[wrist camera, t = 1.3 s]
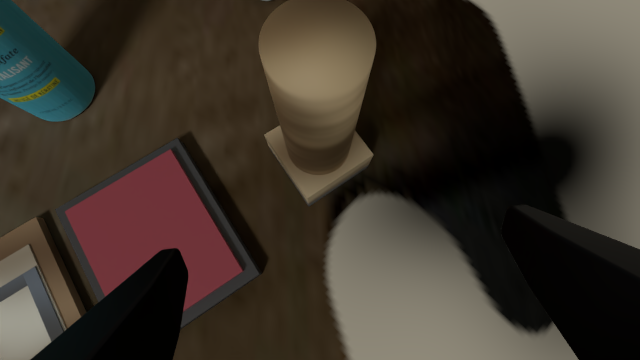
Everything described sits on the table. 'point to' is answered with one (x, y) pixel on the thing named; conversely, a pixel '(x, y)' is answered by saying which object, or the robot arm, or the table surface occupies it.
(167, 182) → the ink pad
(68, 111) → the tube
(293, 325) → the table surface
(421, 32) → the table surface
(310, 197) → the stamp
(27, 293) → the wooden picture frame
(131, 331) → the robot arm
